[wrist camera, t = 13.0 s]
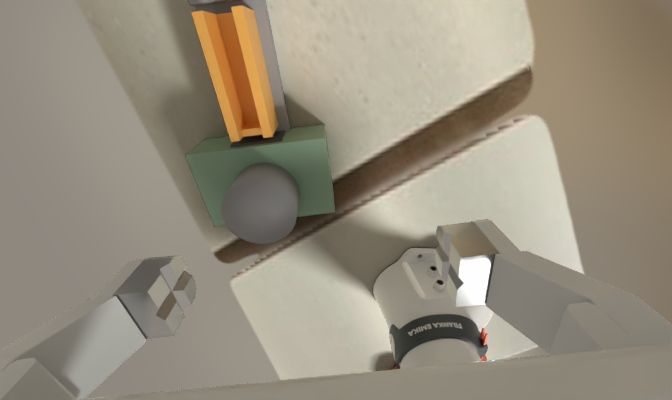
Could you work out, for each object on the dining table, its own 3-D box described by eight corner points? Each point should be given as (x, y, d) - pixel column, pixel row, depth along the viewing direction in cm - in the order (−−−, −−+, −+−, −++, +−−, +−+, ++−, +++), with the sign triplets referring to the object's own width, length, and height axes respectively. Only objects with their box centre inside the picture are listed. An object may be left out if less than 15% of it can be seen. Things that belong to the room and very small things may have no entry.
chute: (253, 10, 29) (242, 5, 25) (278, 124, 35) (272, 136, 31) (210, 16, 29) (191, 12, 25) (242, 129, 35) (231, 141, 31)
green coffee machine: (305, -21, 29) (296, -50, 20) (333, 190, 42) (336, 235, 32) (154, -1, 30) (76, -19, 20) (227, 203, 42) (199, 251, 33)
